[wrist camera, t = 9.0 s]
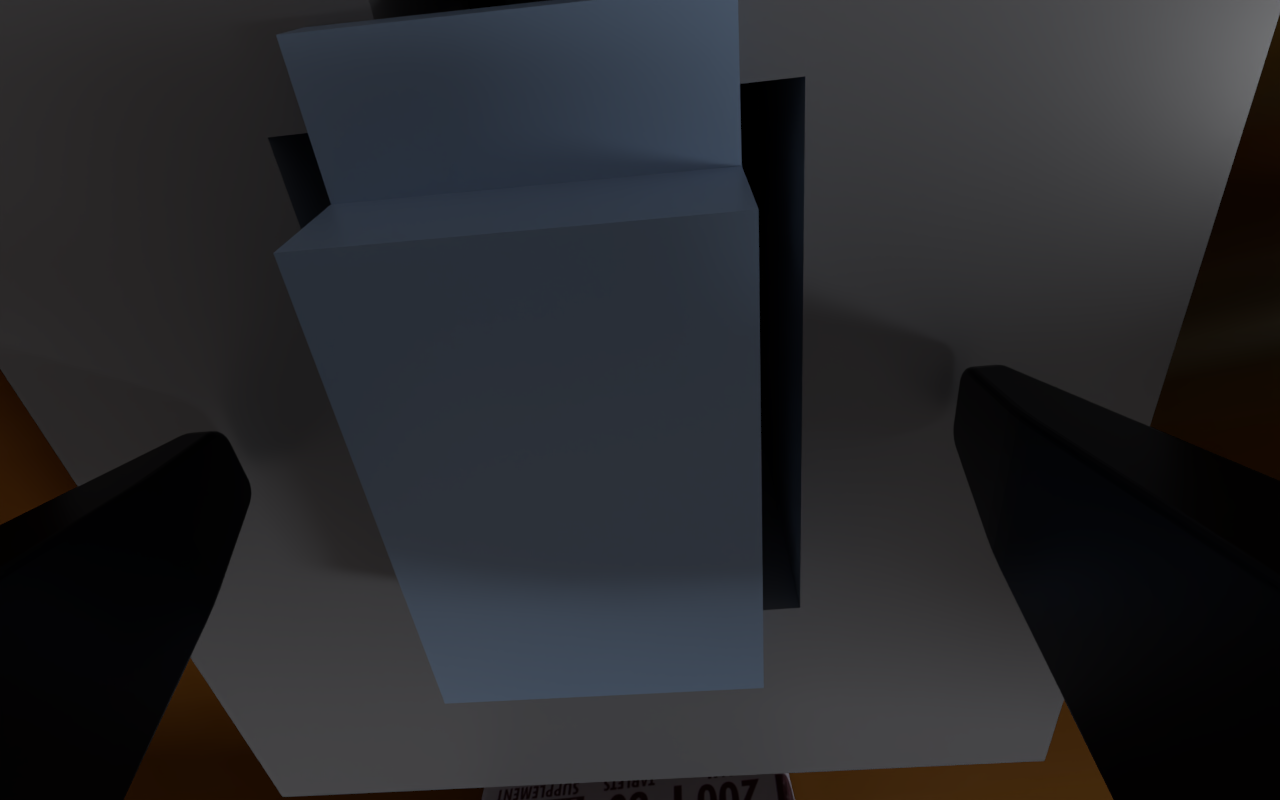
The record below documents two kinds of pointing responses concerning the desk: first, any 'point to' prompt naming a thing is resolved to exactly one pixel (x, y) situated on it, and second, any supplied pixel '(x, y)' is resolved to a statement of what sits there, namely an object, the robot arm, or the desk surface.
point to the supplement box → (656, 789)
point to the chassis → (792, 350)
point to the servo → (545, 335)
